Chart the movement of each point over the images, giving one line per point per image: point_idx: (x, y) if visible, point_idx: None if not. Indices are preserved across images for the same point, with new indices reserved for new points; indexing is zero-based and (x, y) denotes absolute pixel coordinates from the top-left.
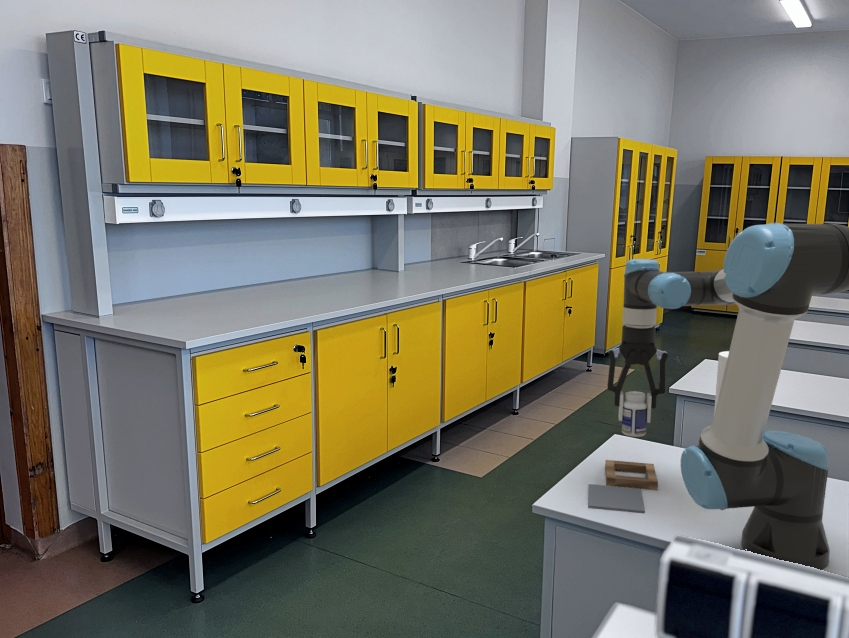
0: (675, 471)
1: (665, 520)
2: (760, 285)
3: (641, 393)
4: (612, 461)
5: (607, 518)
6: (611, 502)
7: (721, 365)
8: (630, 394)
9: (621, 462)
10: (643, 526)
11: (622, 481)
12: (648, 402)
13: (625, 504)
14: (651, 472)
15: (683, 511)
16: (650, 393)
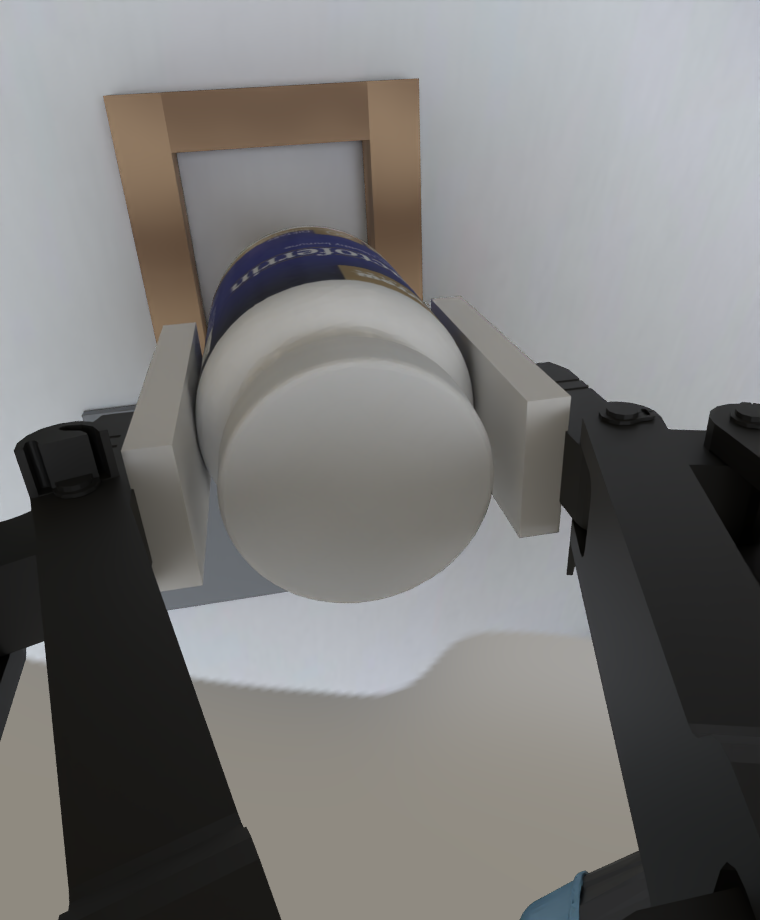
0: (537, 33)
1: (423, 597)
2: None
3: (444, 457)
4: (154, 115)
5: (225, 653)
6: (224, 560)
7: None
8: (295, 545)
9: (216, 118)
10: (349, 658)
11: None
12: (497, 494)
13: None
14: (399, 240)
15: (494, 512)
16: (567, 403)
